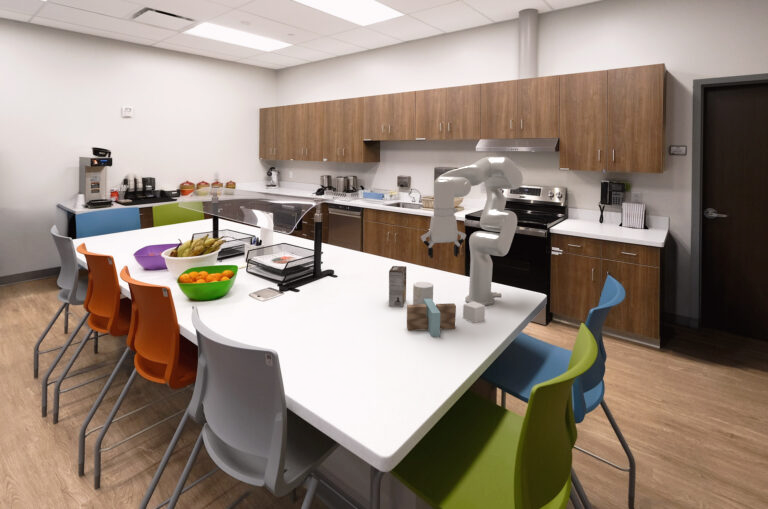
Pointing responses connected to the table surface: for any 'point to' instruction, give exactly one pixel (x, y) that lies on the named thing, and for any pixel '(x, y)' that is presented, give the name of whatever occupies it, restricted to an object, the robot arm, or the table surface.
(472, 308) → the white cube
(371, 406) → the table surface
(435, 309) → the teal slotted board
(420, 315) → the walnut slotted board
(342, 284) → the table surface
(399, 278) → the coffee box
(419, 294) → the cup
